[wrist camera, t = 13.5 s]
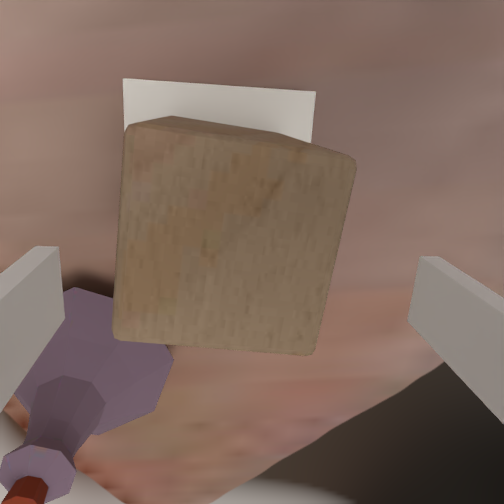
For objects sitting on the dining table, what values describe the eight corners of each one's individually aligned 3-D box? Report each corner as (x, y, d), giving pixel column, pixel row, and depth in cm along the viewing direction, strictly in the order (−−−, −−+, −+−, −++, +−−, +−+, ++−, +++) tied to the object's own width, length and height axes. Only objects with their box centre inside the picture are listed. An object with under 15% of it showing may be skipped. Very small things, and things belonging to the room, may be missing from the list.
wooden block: (155, 228, 38) (108, 344, 20) (166, 114, 35) (122, 120, 17) (263, 242, 40) (316, 360, 21) (282, 133, 37) (363, 158, 18)
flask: (110, 432, 49) (51, 637, 30) (-19, 350, 44) (-188, 533, 25) (208, 335, 46) (211, 492, 27) (82, 237, 41) (-22, 345, 22)
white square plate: (307, 92, 39) (315, 91, 36) (292, 257, 44) (298, 267, 41) (128, 80, 37) (122, 78, 34) (134, 253, 42) (128, 264, 39)
